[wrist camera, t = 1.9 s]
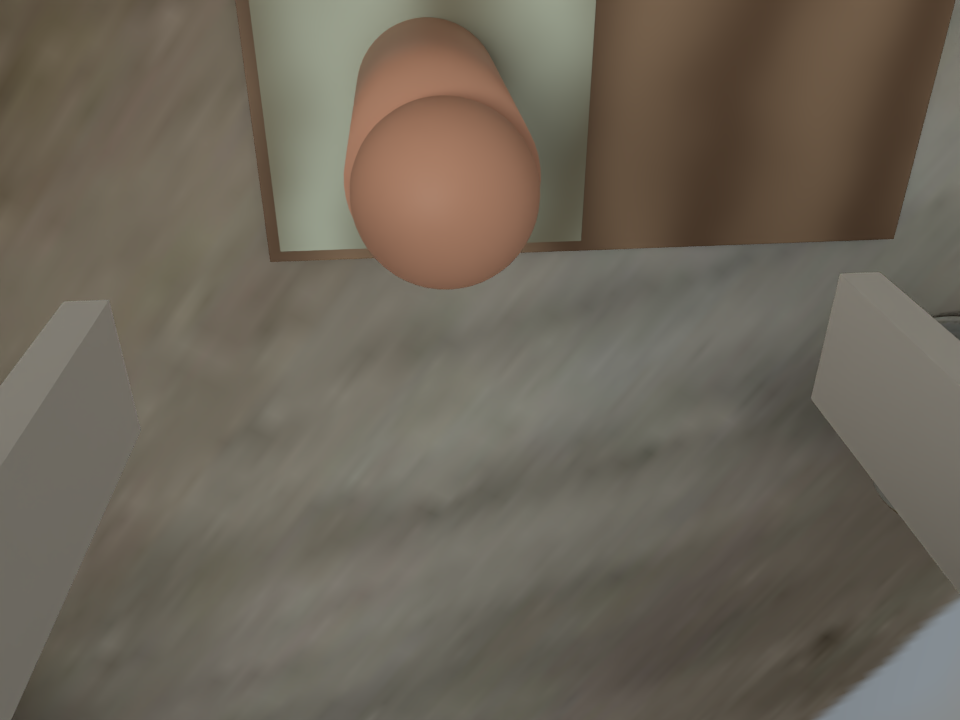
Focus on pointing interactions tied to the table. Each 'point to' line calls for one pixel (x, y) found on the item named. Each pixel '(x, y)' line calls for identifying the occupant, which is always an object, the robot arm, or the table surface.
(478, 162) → the pawn
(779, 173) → the game board
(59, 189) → the table surface
